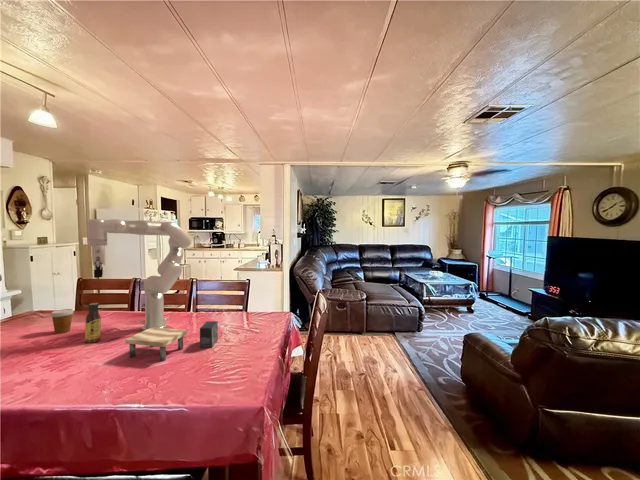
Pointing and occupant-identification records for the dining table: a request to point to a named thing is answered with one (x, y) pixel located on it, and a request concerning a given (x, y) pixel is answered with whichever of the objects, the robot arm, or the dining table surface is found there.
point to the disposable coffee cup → (62, 320)
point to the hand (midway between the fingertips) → (98, 276)
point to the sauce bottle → (93, 324)
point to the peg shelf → (156, 340)
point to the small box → (208, 334)
